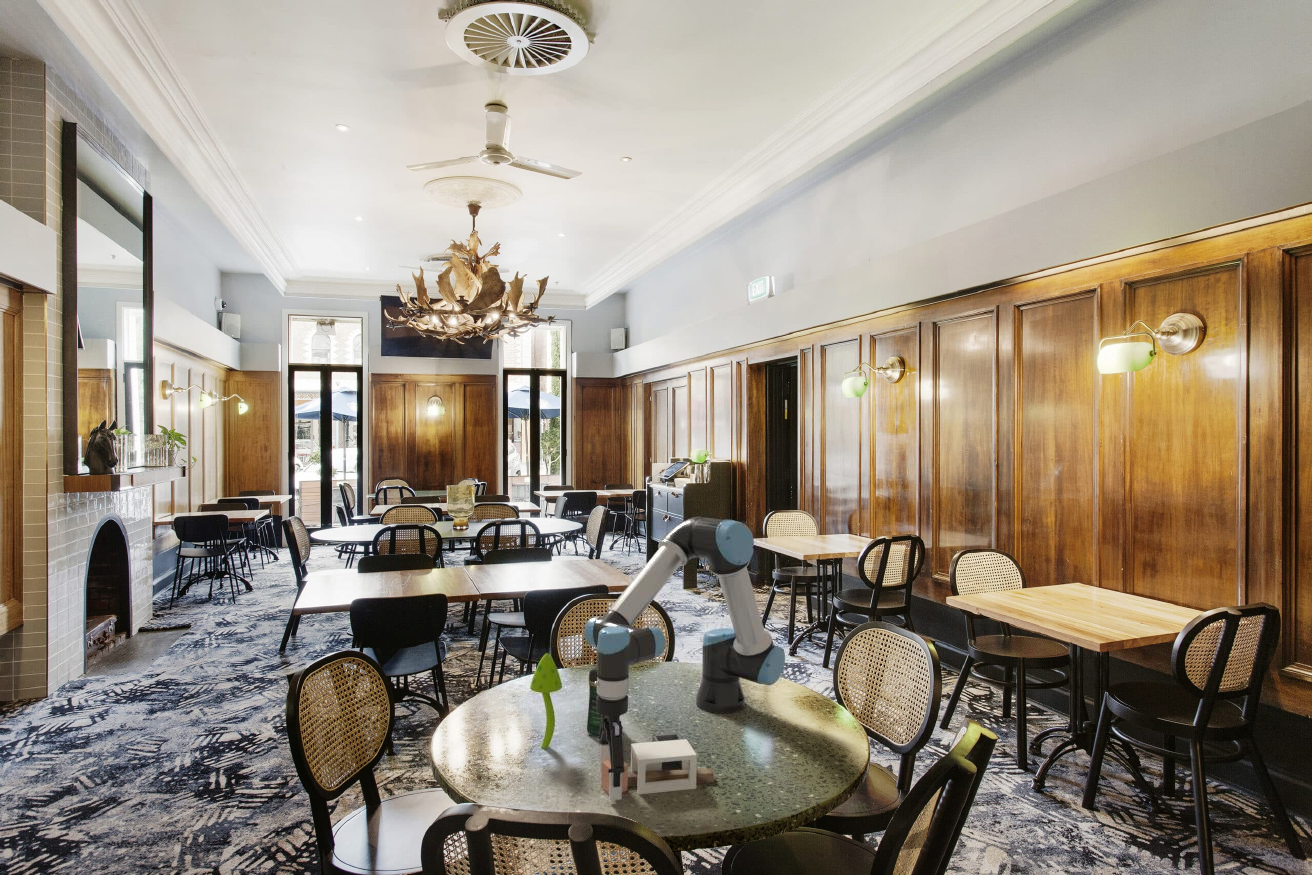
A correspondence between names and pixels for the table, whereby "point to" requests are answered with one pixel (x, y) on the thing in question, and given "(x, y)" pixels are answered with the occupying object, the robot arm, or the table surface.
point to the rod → (671, 776)
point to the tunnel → (664, 762)
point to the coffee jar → (593, 706)
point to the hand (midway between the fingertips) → (610, 784)
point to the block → (606, 776)
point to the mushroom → (547, 691)
